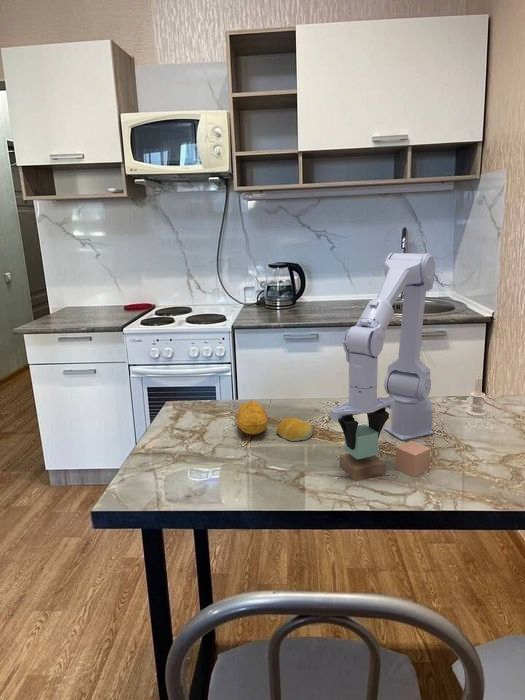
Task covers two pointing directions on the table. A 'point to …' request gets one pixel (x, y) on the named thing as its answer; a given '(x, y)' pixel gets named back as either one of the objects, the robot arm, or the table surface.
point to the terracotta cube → (412, 458)
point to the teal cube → (364, 443)
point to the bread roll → (294, 429)
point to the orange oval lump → (252, 418)
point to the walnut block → (362, 467)
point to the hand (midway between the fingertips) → (362, 445)
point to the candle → (477, 401)
